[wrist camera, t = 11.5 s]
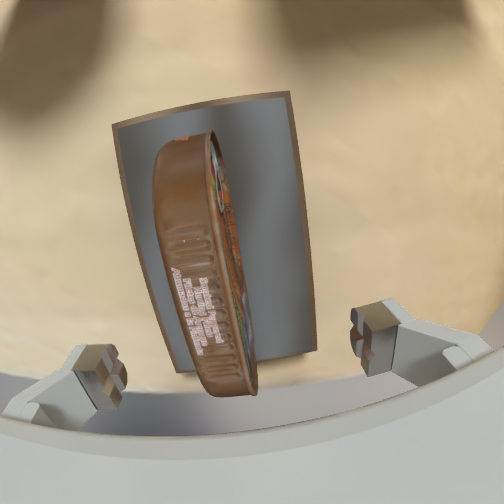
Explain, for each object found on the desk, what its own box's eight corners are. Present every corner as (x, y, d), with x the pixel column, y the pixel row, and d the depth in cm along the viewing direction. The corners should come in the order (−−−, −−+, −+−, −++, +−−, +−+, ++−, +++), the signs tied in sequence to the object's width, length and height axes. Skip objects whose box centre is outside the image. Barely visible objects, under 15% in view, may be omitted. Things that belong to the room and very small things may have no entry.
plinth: (279, 100, 21) (290, 89, 17) (307, 328, 27) (318, 353, 23) (127, 128, 20) (109, 123, 17) (181, 349, 27) (176, 376, 23)
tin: (256, 341, 22) (271, 424, 14) (215, 347, 22) (214, 431, 14) (221, 135, 18) (218, 116, 10) (172, 144, 18) (132, 135, 10)
